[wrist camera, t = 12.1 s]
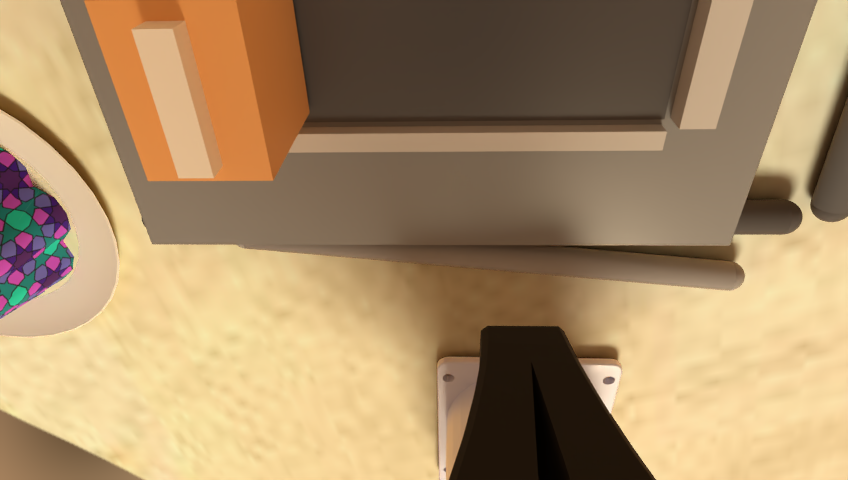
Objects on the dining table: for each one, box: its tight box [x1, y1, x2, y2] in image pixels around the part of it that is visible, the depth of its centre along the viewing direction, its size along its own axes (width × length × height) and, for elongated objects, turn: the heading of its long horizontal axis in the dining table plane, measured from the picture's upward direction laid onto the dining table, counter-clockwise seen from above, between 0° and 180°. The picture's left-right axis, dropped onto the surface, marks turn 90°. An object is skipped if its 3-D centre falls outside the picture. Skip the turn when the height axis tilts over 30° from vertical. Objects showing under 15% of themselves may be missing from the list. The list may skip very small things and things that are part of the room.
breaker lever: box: [84, 0, 310, 181], centre depth 13 cm, size 4×3×5 cm
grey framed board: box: [60, 0, 817, 246], centre depth 16 cm, size 14×20×2 cm
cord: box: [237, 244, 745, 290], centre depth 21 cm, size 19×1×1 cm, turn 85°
